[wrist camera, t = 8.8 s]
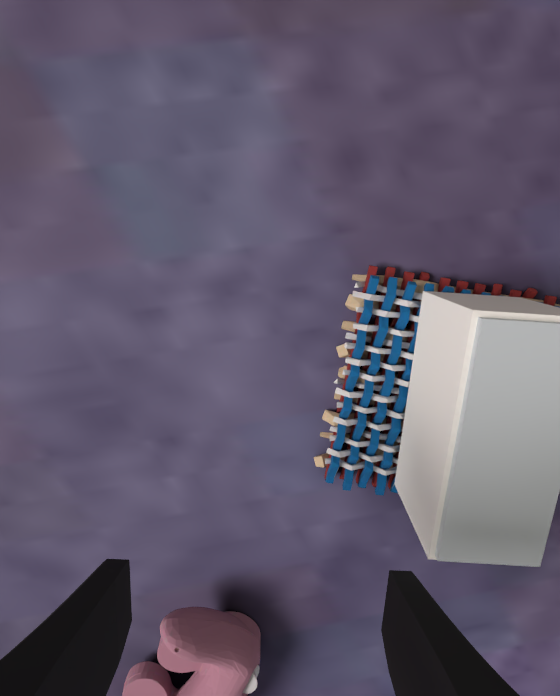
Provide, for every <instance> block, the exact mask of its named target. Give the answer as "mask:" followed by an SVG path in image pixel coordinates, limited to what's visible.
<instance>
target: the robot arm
mask: <svg viewBox="0 0 560 696" xmlns="http://www.w3.org/2000/svg"><path fill="white" fill-rule="evenodd" d="M131 622H132V613H131V590H130V566H129V560H121V559H106V560H105V561H104V562H103V563H102V564H101V565H100V566H99V567H98V568H97V569H96V570H95V571H94V572H93V573H92V574H91V575H90V576H89V577H88V578H87V579H86V580H85V581H84V582H83V583H82V584H81V585H80V586H79V587H78V588H77V589H76V590H75V591H74V592H73V593H72V594H71V595H70V596H69V597H68V598H67V599H66V600H65V601H64V602H63V603H62V604H61V605H60V606H59V607H58V608H57V609H56V610H55V611H54V612H53V613H52V614H51V615H50V616H49V617H48V618H47V619H46V620H45V621H44V622H43V623H41V624H40V625H39V626H38V627H37V628H36V629H35V630H34V631H33V632H32V633H30V634H29V635H28V636H27V637H26V638H25V639H24V640H23V641H21V642H20V643H19V644H18V645H17V646H16V647H15V648H14V649H13V650H11V651H10V652H9V653H8V654H7V655H6V656H4V657H3V658H2V659H1V660H0V696H106V694H107V692H108V689H109V687H110V684H111V682H112V679H113V677H114V674H115V672H116V669H117V667H118V664H119V662H120V659H121V655H122V652H123V649H124V646H125V642H126V639H127V635H128V632H129V628H130V625H131ZM381 631H382V636H383V642H384V648H385V653H386V659H387V664H388V669H389V674H390V677H391V681H392V684H393V688H394V691H395V695H396V696H520V695H519V694H517V693H516V692H515V691H514V690H513V689H512V688H511V687H510V686H509V685H508V684H507V683H506V682H505V681H504V680H503V679H502V678H501V677H500V676H499V675H498V673H497V672H496V671H495V670H494V669H493V668H492V667H491V666H490V665H489V664H488V663H487V662H486V661H485V659H484V658H483V657H482V656H481V655H480V654H479V653H478V652H477V651H476V649H475V648H474V647H473V646H472V645H471V644H470V643H469V641H468V640H467V639H466V638H465V637H464V636H463V634H462V633H461V632H460V631H459V630H458V629H457V627H456V626H455V625H454V624H453V623H452V621H451V620H450V619H449V618H448V617H447V615H446V614H445V613H444V612H443V610H442V609H441V608H440V607H439V605H438V604H437V603H436V602H435V600H434V599H433V598H432V597H431V595H430V594H429V593H428V591H427V590H426V589H425V588H424V586H423V585H422V584H421V583H420V581H419V580H418V579H417V577H416V576H415V575H414V574H413V573H412V571H392V570H389V578H388V585H387V592H386V600H385V607H384V615H383V622H382V629H381Z"/></svg>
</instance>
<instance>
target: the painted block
mask: <svg viewBox="0 0 560 696" xmlns="http://www.w3.org/2000/svg"><path fill="white" fill-rule="evenodd" d="M395 487H396V489H397V491H398V493H399V495H400V498H401V500H402V502H403V504H404V507H405V509H406V511H407V513H408V515H409V518H410V520H411V522H412V524H413V526H414V529H415V531H416V533H417V535H418V537H419V540H420V542H421V544H422V546H423V549H424V551H425V553H426V555H427V557H428V559H434V560H437V561H448V562H465V563H482V564H499V565H516V566H532V567H540V565H541V561H542V557H543V553H544V549H545V545H546V541H547V537H548V534H549V530H550V526H551V522H552V518H553V514H554V510H555V506H556V502H557V499H558V495H559V491H560V308H559V307H555V306H552V305H548V304H544V303H540V302H536V301H532V300H528V299H524V298H520V297H508V296H492V295H477V294H462V293H447V292H432V291H423V294H422V301H421V308H420V315H419V321H418V328H417V335H416V342H415V348H414V355H413V362H412V369H411V375H410V382H409V389H408V396H407V402H406V409H405V416H404V423H403V430H402V436H401V443H400V450H399V457H398V463H397V470H396V477H395Z"/></svg>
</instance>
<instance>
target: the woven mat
mask: <svg viewBox="0 0 560 696" xmlns="http://www.w3.org/2000/svg"><path fill="white" fill-rule="evenodd" d="M377 268H378V267H376V266H370V265H369V269H368V273H367V275H353V276H352V280H356V281H360V282H356V284H355V287H354V288H356V287H364V288H363V291H362V292H357V291H353V294H352V295H351V294H349V297H348V299H347V301H346V304H345V305H346V306H347V307H348V308H349V309H350V310H353V311H356V312H357V318H356V322H352V321H343V324H342V328H341V329H345V330H348V331H352V332H355V333H354V334H352V333H346V336H345V337H346V339H352V340H353V342H352V343H348V342H345V344H342V345H340V346H337V347H336V348H337V351H338V355H339V357H347V358H346V361H345V363H348V365H347V366H344V367H342V368H339V372H338V376H339V377H340V378H344V379H337V380H336V381H335V382H334V383H336V384H343V388H342V389H340V388H336V391H335V396H334V399H338V400H340V401H339V402H337V411H336V412H333V411H329V410H325V412H324V414H323V417H322V419H323V420H325V421H327V422H328V423H330V424H331V425H333V426H334V427H332V426H331V427H330V431H333V433H326V432H321V433H320V436H321V437H325V438H329V439H330V441H332V442H331V447H330V448H328V449H327V452H326V454H322V455H319V456H316V457H314V460H315V465H316V466H318V467H326V472H325V481H326V482H327V483H333V481H334V478H335V476H336V473H337V471H338V468H339V467H343V468H342V471H341V475H340V478H339V479H344V482H343V490H349V491H351V486H352V481H353V474H354V470H356V469H358V472H357V476H356V482H357V483H358V486H359V487H361V488H366V484H367V482H368V480H369V478H370V476H371V474H372V472H373V471H374V474H373V479H372V485H373V487H376V489H375V493H376V495H384V491H385V486H386V478H387V475H390V474H391V475H390V478H389V482H388V487H389V489H390V491H391V492H395V493H398V491H397V489H396V487H395V477H396V470H397V463H398V457H399V450H400V443H401V436H402V430H403V423H404V416H405V409H406V402H407V396H408V389H409V382H410V375H411V369H412V362H413V355H414V348H415V342H416V335H417V328H418V321H419V315H420V308H421V301H422V294H423V291H432V292H447V293H462V294H477V295H492V296H508V295H501V290H502V286H503V285H501V284H494V285H493V288H492V292H491V293H489V292H484V290H485V288H486V285H484V284H479V283H476V284H475V287H474V290H471V289H467V287H468V283H469V282H465V281H458V282H457V286H456V287H453V286H449V284H450V280H451V279H448V278H440V282H439V284H438V283H434V282H428V280H429V278H430V277H429V273H425V272H421V274H420V276H419V280H417V279H413V278H414V274H415V273H411V272H404V276H403V278H397V277H394V273H395V269H396V268H392V267H387V268H386V270H385V275H376V273H377ZM376 291H379V292H381V295H375V293H376ZM521 293H522V291H518V290H512V289H511V291H510V294H509V296H508V297H520V296H521ZM537 293H538V292H537V291H536V289H533V288H528V289H527V290H526V291H525V292H524V294H523V295H522V297H520V298H524V299H528V300H532V301H536V302H540V303H544V304H548V305H552V306H555V307H559V308H560V305H559V304H555V302H556V299H557V297H554V296H547V295H546V296H545V299H544V301H543V300H537V299H533V298H534V297H535V295H536V294H537ZM396 295H397V296H399V297H398V298H395V297H396ZM412 298H414V301H412ZM372 314H374V315H376V319H375V323H374V324H369V320H370V318H371V316H372ZM389 317H392V320H391V323H390V327H389V326H388V319H389ZM409 320H410V321H411V323H410V328H409V329H406V328H405V327H406V325H407V323H408V321H409ZM366 335H368V336H366ZM371 336H372V337H371ZM365 342H370V346H367V345H365ZM382 345H385V349H384V348H381V346H382ZM401 348H405V349H404V351H401ZM361 358H365V359H366V360H360V359H361ZM380 361H383V363H382V362H380ZM396 364H401V365H396ZM360 366H363V368H362V370H360ZM380 367H382V370H381V372H380V371H378V370H379V368H380ZM395 371H399V373H398V375H397V374H395ZM393 386H395V387H393ZM354 387H357V388H359V392H353V389H354ZM373 390H375V391H377V394H374V393H373ZM390 393H393V396H390ZM352 402H356V403H357V405H355V404H353V403H352ZM368 405H374V407H370V408H368ZM387 408H390V409H389V410H388V409H387ZM352 409H353V410H355V413H353V412H351V411H352ZM367 413H372V415H371V416H370V415H367ZM386 415H388V417H387V418H385V417H386ZM401 419H403V421H402V420H401ZM366 426H368V431H365V430H364V429H365V427H366ZM380 431H382V434H381V433H380ZM400 431H401V435H400V436H398V435H399V433H400ZM350 432H351V433H350ZM346 433H350V434H346ZM343 443H348V446H347V450H343V451H340V450H341V448H342V445H343ZM359 447H364V448H363V452H362V453H361V452H359ZM374 454H376V456H374ZM395 454H396V455H395ZM393 455H395V457H393ZM359 457H360V458H361V459H360V458H359ZM392 462H393V463H392Z"/></svg>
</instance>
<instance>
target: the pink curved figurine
mask: <svg viewBox="0 0 560 696" xmlns="http://www.w3.org/2000/svg"><path fill="white" fill-rule="evenodd" d="M160 633H161V639H160V643H159V647H158V651H157V659H158V661H159V663H160V664H161V665H162V666H163V667H162V666H161V665H159V664H157V663H154V662H150V661H146V662H141V663H138V664H136V665H135V666H133V667H132V668H131V669H130V671H129V673H128V675H127V678H126V681H125V684H124V690H123V694H122V696H247V695H248V694H249V693H252V692H253V691H255V689H256V688H257V684H258V683H257V676H258V673H259V670H260V669H259V667H260V642H261V633H260V630H259V627H258V626H257V624H256V623H255V622H254V621H253V620H252V619H251V618H250V617H248V616H246V615H245V614H242V613H240V612H232V611H228V612H222V611H219V610H214V609H210V608H205V607H188V608H181V609H177V610H175V611H173V612H171V613H169V614H168V615H167V616H165V618H164V619H163V620H162V622H161V624H160ZM166 669H167V670H169V671H172V672H178V673H186V672H192V671H195V672H194V673H193V675H192V676H191V677H190V679H189V680H188V681H187V682H186V683H185V684H184V685H183V686H182V687H181V688H180V689H179V690H178V689H177V688H175V687H174V686H173V685H172V682H171V678H170V675H169V673H168V672H167V670H166Z"/></svg>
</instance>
